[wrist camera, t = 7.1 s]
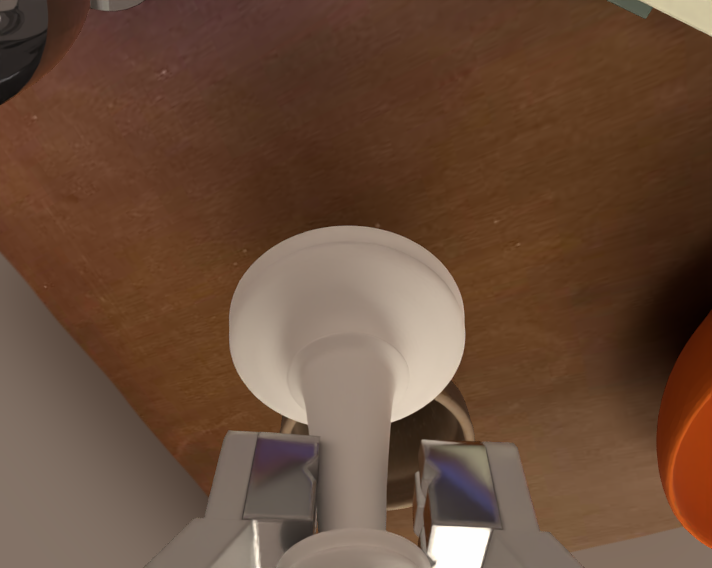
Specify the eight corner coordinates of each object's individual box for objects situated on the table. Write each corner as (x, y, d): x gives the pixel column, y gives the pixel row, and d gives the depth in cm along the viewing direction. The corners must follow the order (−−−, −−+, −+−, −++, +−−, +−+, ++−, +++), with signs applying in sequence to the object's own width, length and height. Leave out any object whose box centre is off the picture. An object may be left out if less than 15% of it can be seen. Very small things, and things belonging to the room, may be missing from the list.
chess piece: (429, 190, 11) (682, 1074, 3) (485, 378, 14) (701, 1122, 6) (187, 267, 12) (-137, 1132, 4) (284, 430, 15) (216, 1150, 6)
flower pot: (488, 324, 43) (518, 433, 35) (396, 421, 48) (403, 536, 40) (347, 247, 40) (343, 348, 31) (265, 361, 45) (244, 472, 37)
